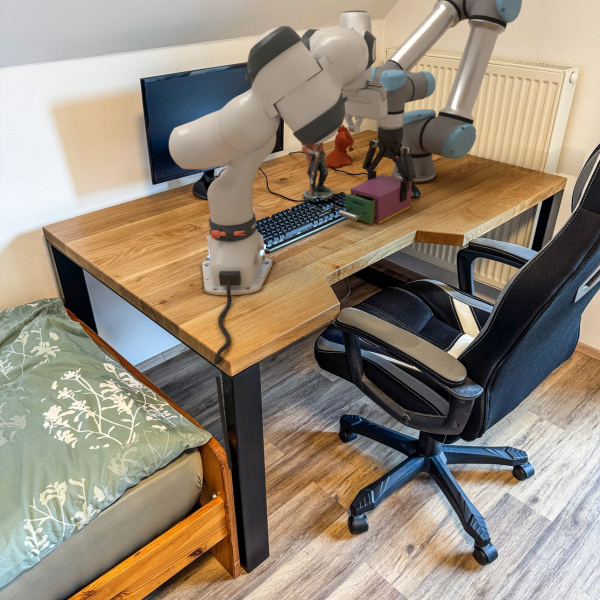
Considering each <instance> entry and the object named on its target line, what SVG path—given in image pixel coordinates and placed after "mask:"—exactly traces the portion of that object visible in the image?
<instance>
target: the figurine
mask: <svg viewBox="0 0 600 600" xmlns="http://www.w3.org/2000/svg"><path fill="white" fill-rule="evenodd" d="M300 144H301V151H302V152H303V153H305V154H306V155H305V159H306V160H307V170H306V174H307V176H308V177H309V179H308V180H309V181H308V182H309V188H308V189H307V190H305V191H304V192H303V193H302V198H303V200H305V201H307V202H309V201H308V200H311V199H315V198H317V197H322V198H327V197H329V196H331V195H334V196H335V191H334V190H333V189H331V188H330V187H327V186H325V182H326V179H327V178H328V174H329V171H328V167H326V163H325V161H326V156H327V155H326V152H325V151H326V150H325V149H324V142H323V143H320V144H314V145H311V146H307V145H303V144H302V143H301V142H300ZM318 172H319V173H318ZM318 174H319V176H318ZM317 178H318V181H317ZM316 181H317V183H316Z"/></svg>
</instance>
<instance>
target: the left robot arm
mask: <svg viewBox="0 0 600 600" xmlns="http://www.w3.org/2000/svg"><path fill="white" fill-rule="evenodd" d="M376 47H377V37H376V36H375V35H374V34H373V27H372V18H371V13H370V12H369V11H366V10H360V9H359V10H358V9H357V10H355V9H354V10H347V11H343V12H342V13H340V15H339V22H338V27H335V28H332V29H317V28H308V29H307V30H306V31H305V32H304V33H303V34H302V36H300V35H299V33H297V31H296V30H295V29H293V28H292V27H291V26H289V25H281V26H279V27H273V28H271V29H268V30H266V31H265V32H263V33H262V34H261V35H260V36H258V37H257V39H256V41H255V42H254V44H253V45H252V47H251V48H250V50H249V52H248V57H247V61H246V64H247V65H246V66H247V73H246V74H245V76H244V77H245V81H248V80H250V82H251V87H250V88H249V89H248V90H247V91H245V92H243V93H241V94H240V95H237V96H235V97H233V98H232V99H231V100H229V101H228V102H227V103H226V104H225V105H224V106H223V107H222V108H220V109H218V110H216V111H213V112H211V113H208V114H205V115H204V116H203V115H202V116H201V117H198V118H197V119H195V120H192V121H189V122H187V123H183V124H181V125H178V126H176V127H174V128H173V130H172V131H171V133H170V135H169V139H168V150H169V154H170V156H171V158H172V160H173V161H174V163H175V164H176V165H178V167H180V168H181V169H183V170H207V169H208V170H209V169H214V168H220V167H224V166H225V168H224V170H223V171H222V173H221V174H220V175H219V176H218V177H216V178H215V179H214V180H213V181H211V183H210V185H209V187H208V189H207V191H206V195H207V203H208V212H209V218H208V229H209V234H208V235H207V236H206V243H207V249H208V255H206V256H205V260H204V261H203V262H202V263H201V268H202V278H203V290H204V292H205V293H207V294H210V295H214V296H226V297H227V298H226V299H227V301H226V305H225V307H224V308H223V310H222V312H221V313H220V314H219V316H218V318H217V319H218V320H217V322H218V326H219V329H220V330H221V332H222V333H223V335H224V337H225V343H224V344H223V345H222V346H221V347H219V349H218V350H217V351H216V353H215V357H214V363H213V365H214V366H217V365H219V363H220V357H221V355H222V354H223V352H224V351H226V350H227V349H228V348H229V346H230V344H231V336H230V333H229V331H228V330H227V328H226V326H225V325H224V322H223V320H224V317H225V316H226V314H227V313H228V311H229V310H230V307H231V305H232V296H239V295H240V296H241V295H249V294H253V293H256V292H259V291H260V290H261V288H262V287H263V286H264V283H265V280H266V278H267V276H268V274H269V273H270V271H271V268H272V266H273V265H274V264H273V260H272V259H271V258H268V257H266V244H265V242H264V235H263V234H262V233H260V232H259V231H258V230H257V218H256V214H255V212H254V200H253V191H254V190H253V188H254V181H255V179H256V176H257V174H258V170H259V169H260V167H261V165H263V162H264V161H265V160H266V159H267V158H268V156H270V155H271V154H272V153H273V151H274V148H275V147H276V143H277V132H278V130H279V127H280V124H281V123H280V122H281V119H282V120H283V121H284V123H285V124H286V125H287V127H288V128H289V129H290V130H291V131H292V132H293V133H292V135H293V136H294V137H295V139H296V140H297V141H298V142H300V144H301V143H302V144H303V145H307V146H311V145H314V144H320V143H323V144H324V143H325V142H327V141H329V140H330V139H331V138H332V137H334V136H335V135H336V133H338V129H339V127H340V126H341V125H342V126H343V125H344V121H345V123H346V125H347V129H348V131H349V132H350V133H354V134H355V133H356V134H358V133H360V131H361V126H362V124H363V121H364V119H367V120H370V121H371V120H372V121H377V122H378V121H379V120H382V119H384V118H385V117H386V116H387V97H386V92H387V91H386V88H385V86H384V85H382V83H380V82H373V81H371V70H372V68H373V67H372V65H373V64H374V63H375V62H376V61H377V57H376V55H377V53H376V52H377V51H376ZM353 118H354V121H355V123H354V121H353ZM302 144H301V145H302ZM303 145H302V146H303ZM221 380H222V379H221V375H220V376H219V375H217V376H215V382H216V391H217V400H218V406H219V407H218V408H219V417H220V423H221V429H222V435H223V441H224V449H225V454H226V461H227V462H226V463H227V468H228V470H230V471H231V470H233V463H232V456H231V448H230V442H229V436H228V430H227V429H228V428H227V423H226V415H225V409H224V407H225V406H224V399H223V390H222V381H221Z"/></svg>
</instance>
